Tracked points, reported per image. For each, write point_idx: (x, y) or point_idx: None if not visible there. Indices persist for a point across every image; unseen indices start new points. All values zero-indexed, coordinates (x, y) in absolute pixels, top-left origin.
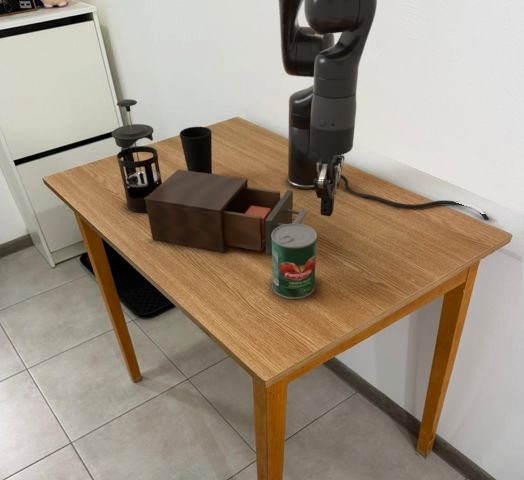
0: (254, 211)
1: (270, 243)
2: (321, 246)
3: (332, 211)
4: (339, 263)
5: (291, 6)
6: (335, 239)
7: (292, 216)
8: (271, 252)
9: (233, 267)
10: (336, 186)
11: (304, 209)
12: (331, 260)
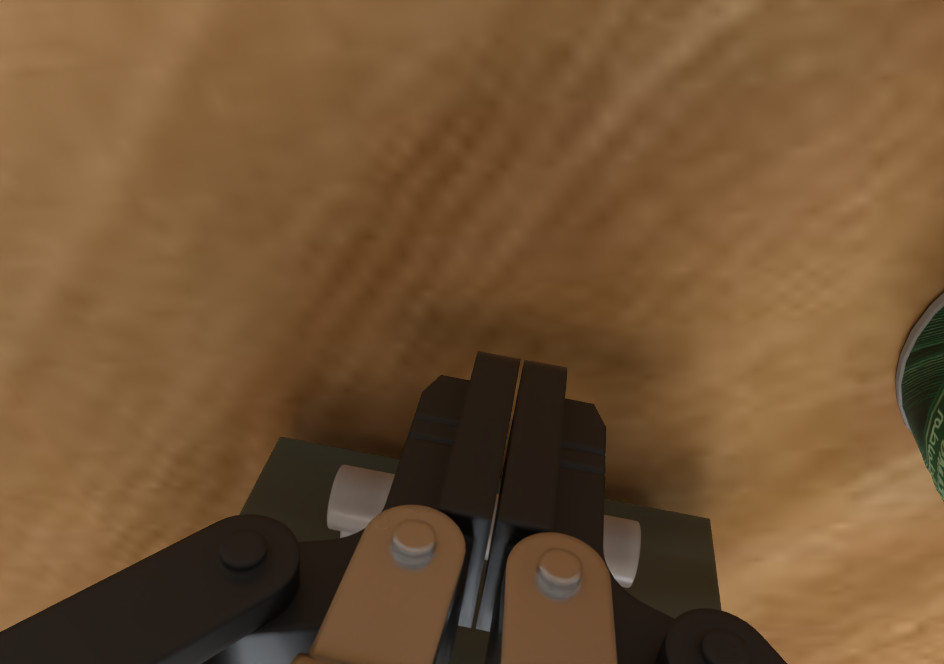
0: None
1: (716, 602)
2: (481, 220)
3: (517, 374)
4: (733, 54)
5: None
6: (349, 122)
7: (259, 480)
8: (712, 541)
9: (789, 646)
10: (356, 592)
11: (333, 514)
12: (686, 127)
